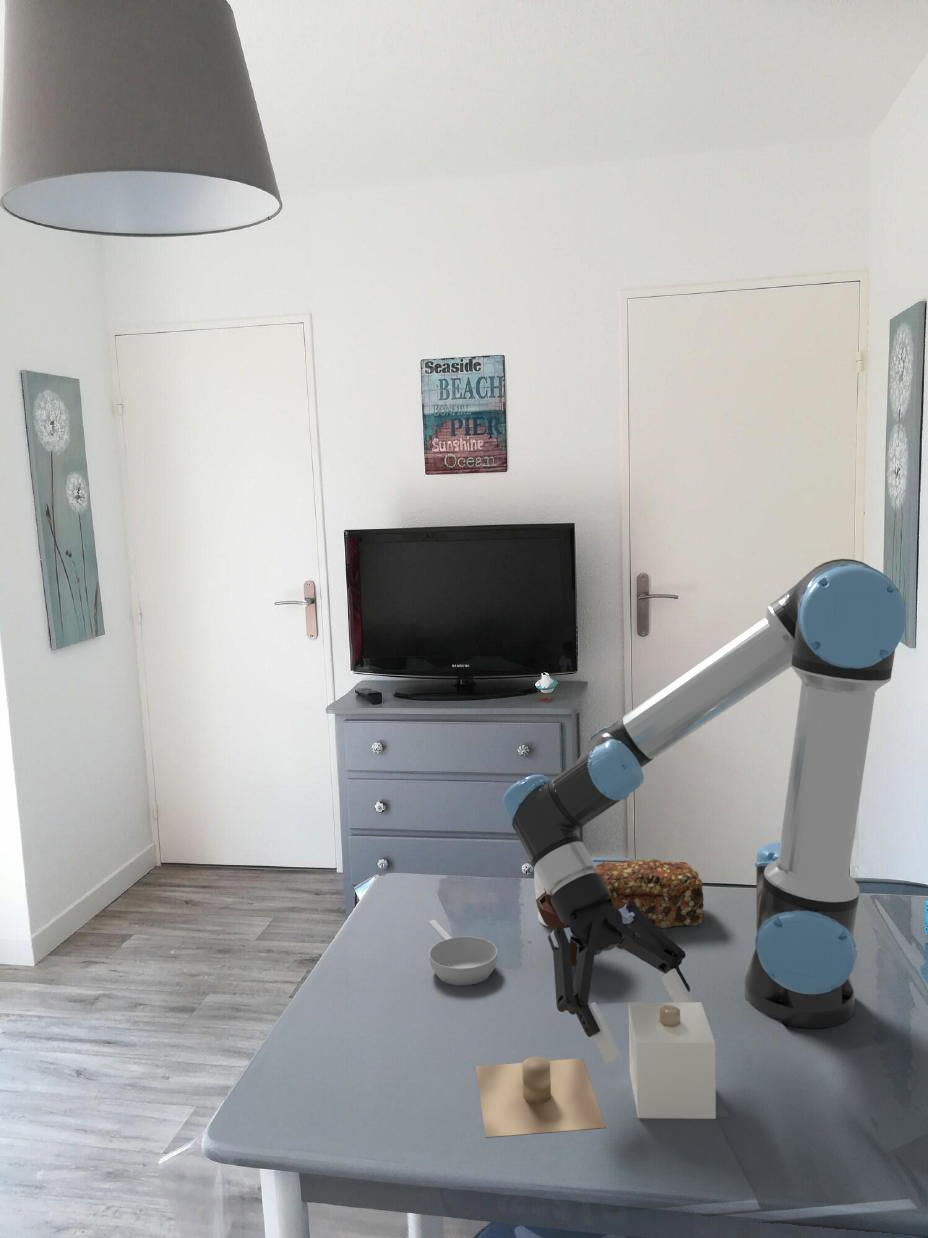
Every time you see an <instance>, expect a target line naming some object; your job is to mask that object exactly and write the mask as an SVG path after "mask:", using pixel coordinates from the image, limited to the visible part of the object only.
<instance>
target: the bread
mask: <svg viewBox="0 0 928 1238" xmlns="http://www.w3.org/2000/svg"><path fill="white" fill-rule="evenodd" d="M595 865H596V871H595V873H598V874H600V875H601V877H602V879H603V881H604V883H605V884H606V886H607V888H608V890H609V892H610V894H611V900H612V903H613V905H614V906H615V907H616V908H617V909H618V910H619V909H621V908H623V907H624V906H625V905H626V904H627V903H629V902H630V901H633V902H635V904H636V905H637V907H638V908H639V910H640V911H641V912H642V914H643V915H644V916H645V917H646V918H647V919H648V920H650V921H651V922H652V923H653V924H654V925H655V926H656V927H657V928H659V929H668V928H671V927H678V926H680V927H684V926H693V927H695V926H697V925H700V924H702V921H703V915H704V892H703V881H702V879H701V878H700V877H699V873H698V871H696V870H694V868H692V866H691V865H690V864H689V863H688V862H685V861H684V862H683V861H679V862H678V861H671V860H670V861H664V860H658V859H656V858H655V859H654V858H653V859H652V858H651V859H633V860H623V861H621V862H611V861H603V862H601V863H599V862H598V864H595ZM622 924H624V923H623V922H622ZM624 925H626V926H627V927H629V926H628V924H627V923H626V924H624ZM629 928H630V927H629Z"/></svg>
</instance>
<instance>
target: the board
mask: <svg viewBox="0 0 928 1238" xmlns="http://www.w3.org/2000/svg"><path fill="white" fill-rule="evenodd" d="M583 1058H584V1057H583ZM583 1058H582V1057H580V1058H569V1059H568V1058H567V1059H554V1060H548V1061H549V1063H550V1079H551V1098H550V1099H549V1100H548V1101H547V1102H545V1103H541V1104H533V1103H530V1102H528V1101H526V1100H525V1099H524V1097H523V1074H522V1063H523V1062H515V1063H502V1064H501V1063H500V1064H489V1065H488V1064H487V1065H476V1066H475V1071H476V1078H477V1085H478V1093H479V1100H480V1106H481V1107H480V1108H481V1116H482V1122H483V1129H484V1138H486V1139H487V1138H497V1137H498V1138H500V1137H511V1136H512V1137H513V1136H522V1135H535V1134H548V1133H559V1132H560V1133H561V1132H569V1131H570V1132H573V1131H583V1130H596V1129H597V1130H598V1129H607V1128H606V1125H605V1121H604V1117H603V1116H602V1112H601V1110H600V1106H599V1103H598V1100H597V1097H596V1095H595V1090H594V1088H593V1086H592V1081H591V1079H590V1077H589V1073H588V1070H587V1067H586V1063H585V1060H584V1059H583Z"/></svg>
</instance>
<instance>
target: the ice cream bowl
mask: <svg viewBox="0 0 928 1238" xmlns="http://www.w3.org/2000/svg"><path fill="white" fill-rule="evenodd" d="M544 890H545V889H544ZM551 897H552V895H549V894H547V892H546V891H545V892H544V893H543V894H542V895H541V896H540V897H538V898H537V899H536V898H535V902H536V907H537V911H538V910H539V912H540V914H541V917H542V919H543V921H544V923H545V924H546V925H547V926H546V927H548V928H549V929H550V930H552V931H554V930H555V929H556V928H557V927H558V926H560V927H562V928H563V929H564V928H566V925H565V923H562V922H561V921H560V919H559V917H558V915H557V913H556V911H555V909H554V907H553V905H552V903H551ZM569 945H570V952H571V965H572V966H577V960H576V956H577V949H578V945H577V944H576V943H575V942H573V941H572V940H570V943H569Z"/></svg>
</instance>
